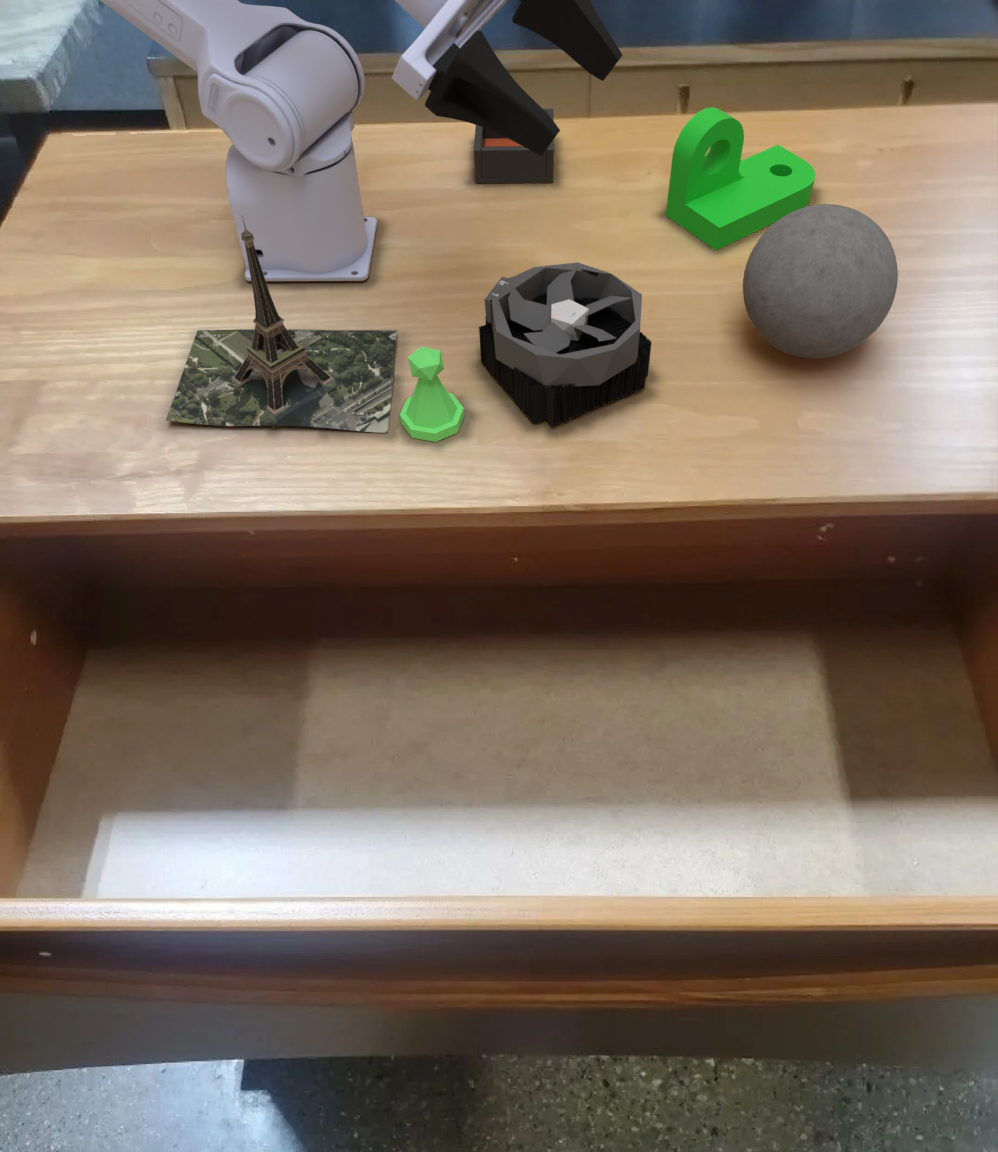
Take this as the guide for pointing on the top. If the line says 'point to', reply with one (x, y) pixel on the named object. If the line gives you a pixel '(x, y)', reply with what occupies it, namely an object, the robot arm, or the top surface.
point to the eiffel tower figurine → (286, 372)
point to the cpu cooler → (564, 340)
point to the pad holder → (510, 159)
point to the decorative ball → (820, 281)
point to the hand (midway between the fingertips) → (582, 105)
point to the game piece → (430, 400)
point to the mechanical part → (731, 181)
